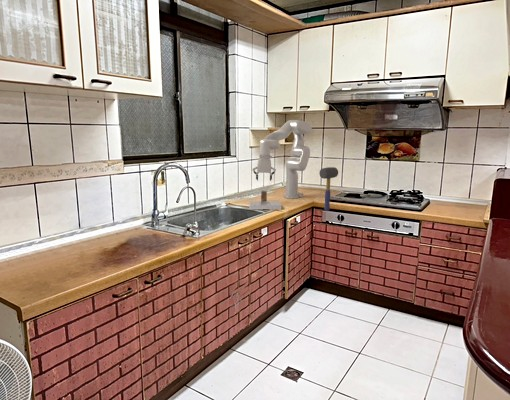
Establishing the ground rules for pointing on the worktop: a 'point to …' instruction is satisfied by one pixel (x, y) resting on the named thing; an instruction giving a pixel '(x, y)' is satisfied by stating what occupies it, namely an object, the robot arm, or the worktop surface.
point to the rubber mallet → (328, 183)
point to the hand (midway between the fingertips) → (263, 180)
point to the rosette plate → (265, 205)
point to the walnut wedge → (263, 195)
